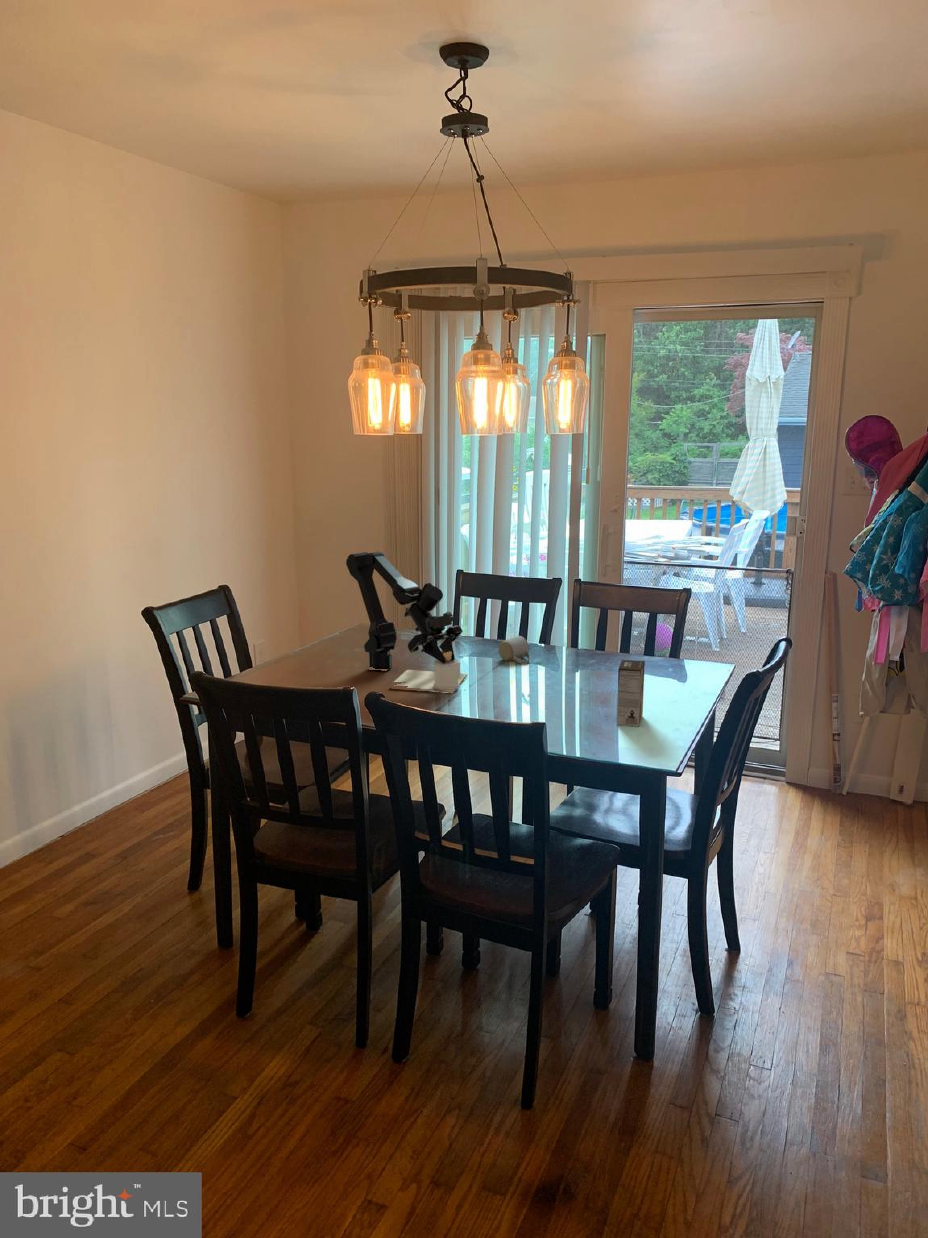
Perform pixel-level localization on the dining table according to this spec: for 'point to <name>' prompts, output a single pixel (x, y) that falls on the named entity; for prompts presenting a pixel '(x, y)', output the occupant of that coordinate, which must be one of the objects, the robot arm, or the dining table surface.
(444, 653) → the plunger
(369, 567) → the robot arm
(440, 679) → the white faceted container
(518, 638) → the ceramic mug
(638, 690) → the coffee box
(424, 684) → the birch board
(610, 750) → the dining table surface
